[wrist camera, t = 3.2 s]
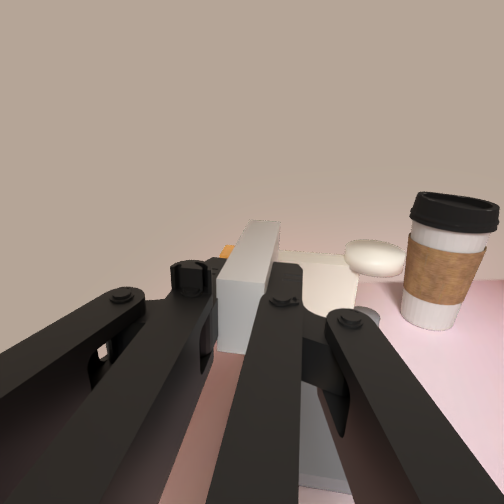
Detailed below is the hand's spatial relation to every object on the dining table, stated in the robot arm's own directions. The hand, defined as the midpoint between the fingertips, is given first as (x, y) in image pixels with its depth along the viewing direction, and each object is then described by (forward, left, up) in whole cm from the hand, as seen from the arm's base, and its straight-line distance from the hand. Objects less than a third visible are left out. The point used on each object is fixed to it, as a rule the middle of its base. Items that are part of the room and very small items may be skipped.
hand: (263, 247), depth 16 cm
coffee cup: (-18, -23, -17) cm, 33 cm away
